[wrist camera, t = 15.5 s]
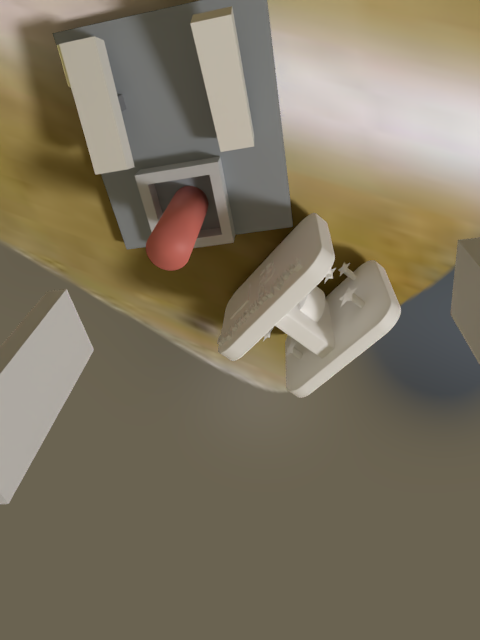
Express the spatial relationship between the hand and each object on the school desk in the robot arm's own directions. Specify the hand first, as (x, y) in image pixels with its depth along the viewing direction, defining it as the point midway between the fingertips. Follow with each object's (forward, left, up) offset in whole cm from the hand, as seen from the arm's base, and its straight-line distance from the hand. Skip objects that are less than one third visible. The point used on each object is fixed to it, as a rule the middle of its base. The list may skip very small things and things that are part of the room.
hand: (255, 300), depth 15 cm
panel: (0, -8, -32) cm, 33 cm away
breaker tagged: (-4, -14, -28) cm, 32 cm away
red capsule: (+6, -9, -30) cm, 32 cm away
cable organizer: (+17, +1, -32) cm, 36 cm away
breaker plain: (-4, -3, -28) cm, 29 cm away
